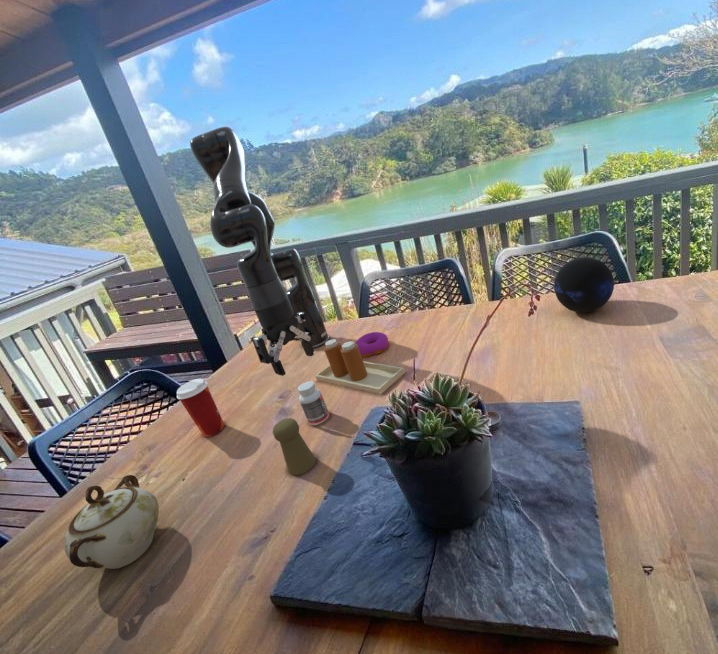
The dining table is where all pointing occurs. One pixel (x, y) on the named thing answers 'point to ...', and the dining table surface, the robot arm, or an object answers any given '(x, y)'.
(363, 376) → the amber bottle middle
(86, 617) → the dining table surface
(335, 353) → the amber bottle far
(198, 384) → the paper cup
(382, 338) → the donut
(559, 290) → the decorative sphere
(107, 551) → the sugar bowl
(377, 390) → the tray
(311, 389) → the pill bottle
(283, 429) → the olive green pawn
